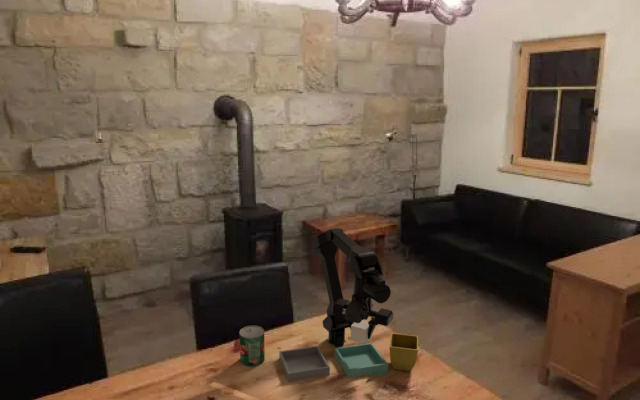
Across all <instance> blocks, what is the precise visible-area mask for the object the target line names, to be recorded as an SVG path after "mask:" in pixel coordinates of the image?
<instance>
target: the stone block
mask: <svg viewBox="0 0 640 400" xmlns="http://www.w3.org/2000/svg"><path fill="white" fill-rule="evenodd" d="M368 322H369V321H367V320H362V321H361V322H360V323H355V322H354V323H353V324H352V325H351V329H350V341H351V342H352V341H353V342H356V343H359V344H368V341H370V339H371V338H372V336H371V337H370V339H368V329H369V324H368Z"/></svg>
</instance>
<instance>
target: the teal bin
mask: <svg viewBox="0 0 640 400" xmlns="http://www.w3.org/2000/svg"><path fill="white" fill-rule="evenodd" d="M334 356H335V358H336V360H337V361H338V363H339V365H340V366H341V368H342V369H343V372H344V373H345V375H346V376H347V378H355V377H360V376H366V375H368V378H371V377H372V378H373V377H376V376H382V375H387V374H388V371H389V369H388V368H389V363H388V362H387V361H386V359H385V358H384V357H383V356H382V354H381V353H380V352H379V351H378V349H377V348H376V346H375V345H374V344H373V343H372V342H369V343H368V342H367V343H366V344H362V343H360V344H355V345H348V346H340V347H335V348H334Z"/></svg>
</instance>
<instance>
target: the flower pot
mask: <svg viewBox="0 0 640 400" xmlns="http://www.w3.org/2000/svg"><path fill="white" fill-rule="evenodd" d="M389 342H390V343H389V359H390V363H391V366H392V367H393V369H394V370H399V371H405V372H411V371H412V370H413V369H414V367H415V365H416V362H417V358H418V354H419V336H418V335H413V334H412V335H411V334H403V333H394V332H392V333H391V334H390V341H389Z"/></svg>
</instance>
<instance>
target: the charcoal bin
mask: <svg viewBox="0 0 640 400" xmlns="http://www.w3.org/2000/svg"><path fill="white" fill-rule="evenodd" d="M278 354H279V355H278V356H279V357H278V358H279V361H280V363H281V366H282V369H283V371H284V374H285V376H286V379H287V381H288V382H292V381H293V382H294V381H299V380H305V379H306V380H307V379H313V378H318V377H319V378H320V377H323V376H330V375H331V373H330V372H331V371H330V370H331V366H330V365H329V364H328V361H327V360H326V357H324V354H323V353H322V351H321V349H320V347H319V345H314V346H307V347H299V348H293V349H285V350H279V352H278Z"/></svg>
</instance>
